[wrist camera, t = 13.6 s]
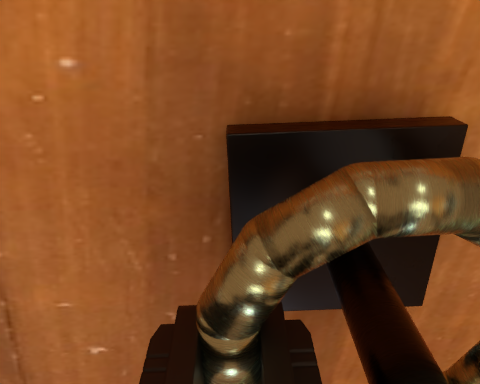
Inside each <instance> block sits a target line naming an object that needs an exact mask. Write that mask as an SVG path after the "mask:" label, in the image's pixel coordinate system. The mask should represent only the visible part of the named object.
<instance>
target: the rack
mask: <svg viewBox="0 0 480 384" xmlns="http://www.w3.org/2000/svg"><path fill="white" fill-rule="evenodd" d="M467 128H468V125H467V124H465V123H463V122H461V121H459V120H457V119H455V118H453V117H427V118H401V119H376V120H350V121H324V122H298V123H272V124H247V125H228V126H227V134H226V137H227V155H228V173H229V192H230V210H231V228H232V245H233V243H234V242H235V240H236V238H237V237H238V235H239V234H240V232H241V230H242V229H243V227H244V226H245V225H246V223H247V222H249V221H250V220H251V219H252V218H254V217H255V216H257V215H259V214H260V213H262V212H264V211H266V210H267V209H269V208H271V207H273V206H275V205H276V204H278V203H280V202H282V201H284V200H285V199H287V198H289V197H291V196H292V195H294V194H296V193H298V192H300V191H301V190H303V189H305V188H307V187H309V186H310V185H312V184H314V183H316V182H317V181H319V180H321V179H323V178H325V177H326V176H328V175H330V174H332V173H333V172H335V171H337V170H339V169H341V168H343V167H344V166H347V165H350V164H353V163H359V162H376V161H395V160H414V159H433V158H452V157H460V155H461V151H462V147H463V143H464V140H465V136H466V132H467ZM439 237H440V235H425V236H408V237H392V238H375V239H373V240H371V241H369V242H367V243H365V244H363V245H361V246H359V247H357V248H355V249H353V250H351V251H349V252H347V253H345V254H343V255H341V256H339V257H337V258H335V259H333V260H331V261H329V262H327V263H325V264H323V265H321V266H320V267H318V268H316V269H314V270H312V271H310V272H308V273H306V274H304V275H302V276H300V277H298V278H297V279H296V281H295V282H294V283H293V285H292V286H291V287H290V289H289V290H288V291H287V293H286V294H285V295H284V297H283V298H282V299H281V301H280V302H282V306H283V311H299V310H326V309H342V310H343V313H344V316H345V318H346V321H347V324H348V327H349V330H350V332H351V335H352V338H353V341H354V344H355V346H356V349H357V352H358V355H359V358H360V360H361V363H362V366H363V369H364V372H365V374H366V377H367V380H368V383H369V384H448V382H447V380H446V378H445V377H444V375H443V373H442V371H441V370H440V368H439V366H438V364H437V362H436V361H435V359H434V357H433V355H432V354H431V352H430V350H429V348H428V347H427V345H426V343H425V341H424V340H423V338H422V336H421V334H420V333H419V331H418V329H417V327H416V326H415V324H414V322H413V320H412V319H411V317H410V315H409V313H408V311H407V310H406V308H405V307H408V306H422V304H423V300H424V296H425V292H426V288H427V284H428V281H429V277H430V273H431V269H432V265H433V261H434V257H435V253H436V249H437V245H438V241H439Z"/></svg>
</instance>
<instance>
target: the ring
mask: <svg viewBox="0 0 480 384" xmlns="http://www.w3.org/2000/svg"><path fill="white" fill-rule="evenodd" d="M442 234H455V235H457V236H459V237H461V238H463V239H465V240H467V241H469V242H471V243H473V244H475V245H477V246H479V247H480V159H476V158H471V157H452V158H433V159H414V160H395V161H376V162H359V163H353V164H350V165H347V166H344V167H343V168H341V169H339V170H337V171H335V172H333V173H332V174H330V175H328V176H326V177H325V178H323V179H321V180H319V181H317V182H316V183H314V184H312V185H310V186H309V187H307V188H305V189H303V190H301V191H300V192H298V193H296V194H294V195H292V196H291V197H289V198H287V199H285V200H284V201H282V202H280V203H278V204H276V205H275V206H273V207H271V208H269V209H267V210H266V211H264V212H262V213H260V214H259V215H257V216H255V217H254V218H252V219H251V220H250V221H249V222H247V223H246V225H245V226H244V227H243V229H242V230H241V232H240V234H239V235H238V237H237V238H236V240H235V242H234V243H233V245H232V246H231V248H230V250H229V251H228V253H227V255H226V256H225V258H224V259H223V261H222V263H221V264H220V266H219V267H218V269H217V271H216V272H215V274H214V275H213V277H212V279H211V280H210V282H209V284H208V285H207V287H206V288H205V290H204V292H203V293H202V295H201V297H200V299H199V301H198V303H197V308H196V324H197V329H198V331H199V339H200V347H201V355H202V363H203V371H204V380H205V384H261V336H260V328H261V326H262V325H263V324H264V322H265V321H266V320H267V318H268V317H269V316H270V314H271V313H272V312H273V310H274V309H275V307H276V306H277V305H278V303H279V302H280V301H281V299H282V298H283V297H284V295H285V294H286V293H287V291H288V290H289V289H290V287H291V286H292V285H293V283H294V282H295V281H296V279H297V278H298V277H300V276H302V275H304V274H306V273H308V272H310V271H312V270H314V269H316V268H318V267H320V266H321V265H323V264H325V263H327V262H329V261H331V260H333V259H335V258H337V257H339V256H341V255H343V254H345V253H347V252H349V251H351V250H353V249H355V248H357V247H359V246H361V245H363V244H365V243H367V242H369V241H371V240H373V239H375V238H392V237H408V236H425V235H442ZM442 373H443V375H444V377H445V378H446V380H447V382H448V384H480V341H479V342H478V343H477V344H476V345H474V346H473V347H472V348H471V349H470V350H469V351H468V352H467V353H466V354H464V355H463V356H462V357H461V358H460V359H459V360H458V361H457V362H456V363H454V364H453V365H452V366H451V367H450V368H449V369H448V370H447V371H445V372H442Z"/></svg>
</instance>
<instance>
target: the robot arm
mask: <svg viewBox="0 0 480 384" xmlns="http://www.w3.org/2000/svg"><path fill="white" fill-rule="evenodd" d="M196 308H197V305H189V306H179V307H178V310H177V315H176V320H175V324H162V325H160V327H159V328H158V329H157V331H156V332H155V333H154V335H153V336H152V338H151V339H150V343H149V347H148V351H147V355H146V359H145V363H144V367H143V372H142V374H141V378H140V382H139V384H205V380H204V371H203V363H202V355H201V347H200V339H199V331H198V329H197V324H196ZM260 336H261V384H322V381H321V377H320V373H319V368H318V366H317V360H316V355H315V353H314V347H313V342H312V338H311V334H310V332H309V331H308V329H307V328H306V327H305V325H304V324H303V323H302V321H301V320H285V319H284V312H283V306H282V302H279V303H278V305H277V306H276V307H275V309H274V310H273V312H272V313H271V314H270V316H269V317H268V318H267V320H266V321H265V322H264V324H263V325H262V326H261V328H260Z"/></svg>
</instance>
